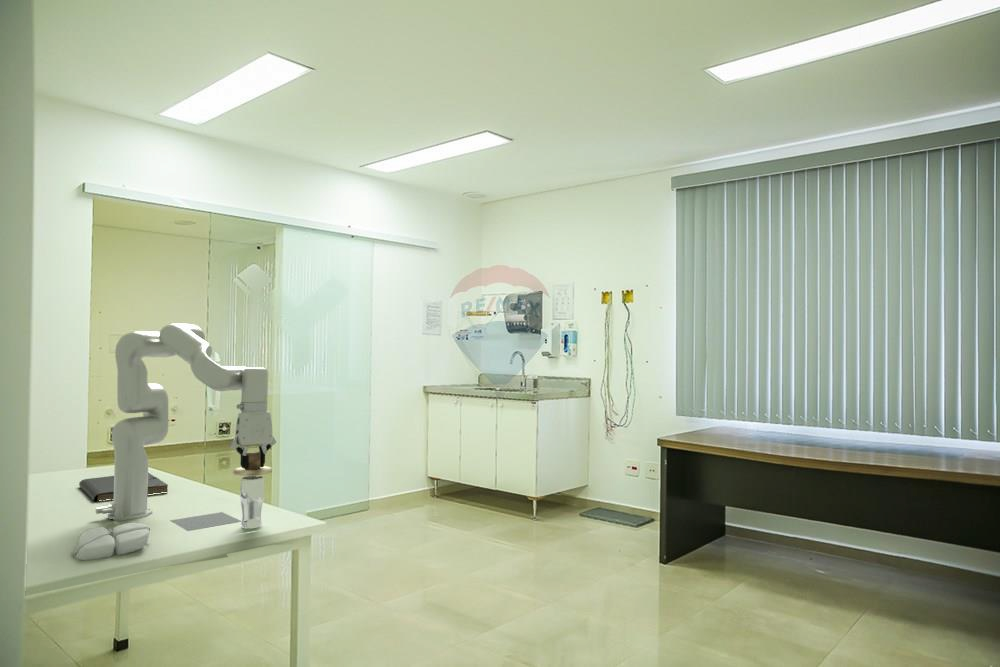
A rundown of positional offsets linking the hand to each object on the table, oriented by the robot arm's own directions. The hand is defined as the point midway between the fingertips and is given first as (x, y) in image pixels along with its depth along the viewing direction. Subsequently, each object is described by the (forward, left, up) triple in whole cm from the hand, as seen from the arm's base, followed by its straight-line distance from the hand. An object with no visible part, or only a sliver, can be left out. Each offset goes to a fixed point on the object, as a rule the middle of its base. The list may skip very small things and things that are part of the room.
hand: (252, 466), depth 195 cm
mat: (-8, +15, -18) cm, 25 cm away
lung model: (-36, +8, -19) cm, 42 cm away
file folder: (-14, +84, -19) cm, 87 cm away
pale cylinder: (0, 0, -19) cm, 19 cm away
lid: (0, 0, -2) cm, 2 cm away
